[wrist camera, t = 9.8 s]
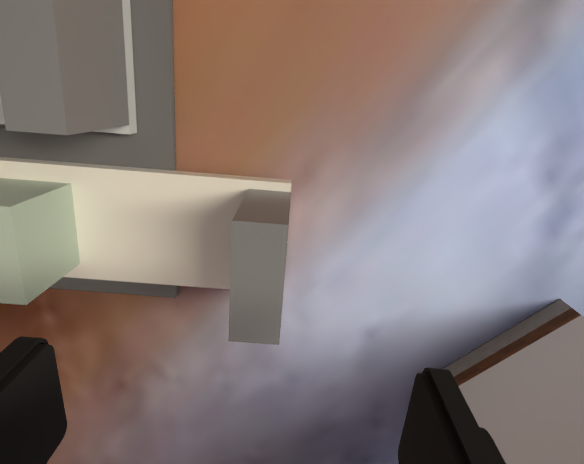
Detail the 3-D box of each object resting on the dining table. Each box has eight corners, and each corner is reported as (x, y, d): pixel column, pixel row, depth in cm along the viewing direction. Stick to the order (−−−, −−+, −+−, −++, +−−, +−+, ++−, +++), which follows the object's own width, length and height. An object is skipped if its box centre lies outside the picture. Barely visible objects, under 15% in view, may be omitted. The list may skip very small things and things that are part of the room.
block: (71, 183, 22) (9, 206, 17) (80, 263, 24) (26, 305, 19) (-18, 176, 22) (-104, 198, 17) (-3, 257, 24) (-77, 297, 19)
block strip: (291, 179, 23) (289, 213, 16) (283, 286, 25) (278, 353, 19) (-51, 152, 23) (-195, 175, 16) (-28, 262, 25) (-145, 322, 18)
